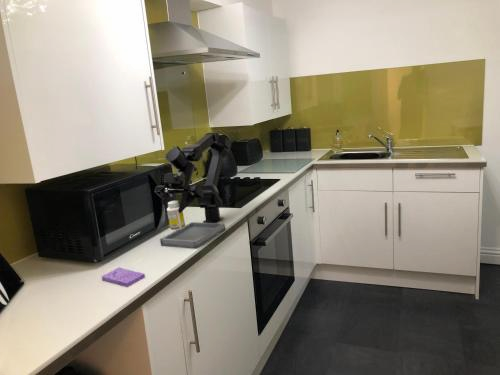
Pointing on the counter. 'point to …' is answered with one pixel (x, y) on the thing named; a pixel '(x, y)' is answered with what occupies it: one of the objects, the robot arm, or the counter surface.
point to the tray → (193, 235)
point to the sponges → (123, 276)
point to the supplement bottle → (175, 216)
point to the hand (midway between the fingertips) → (172, 212)
